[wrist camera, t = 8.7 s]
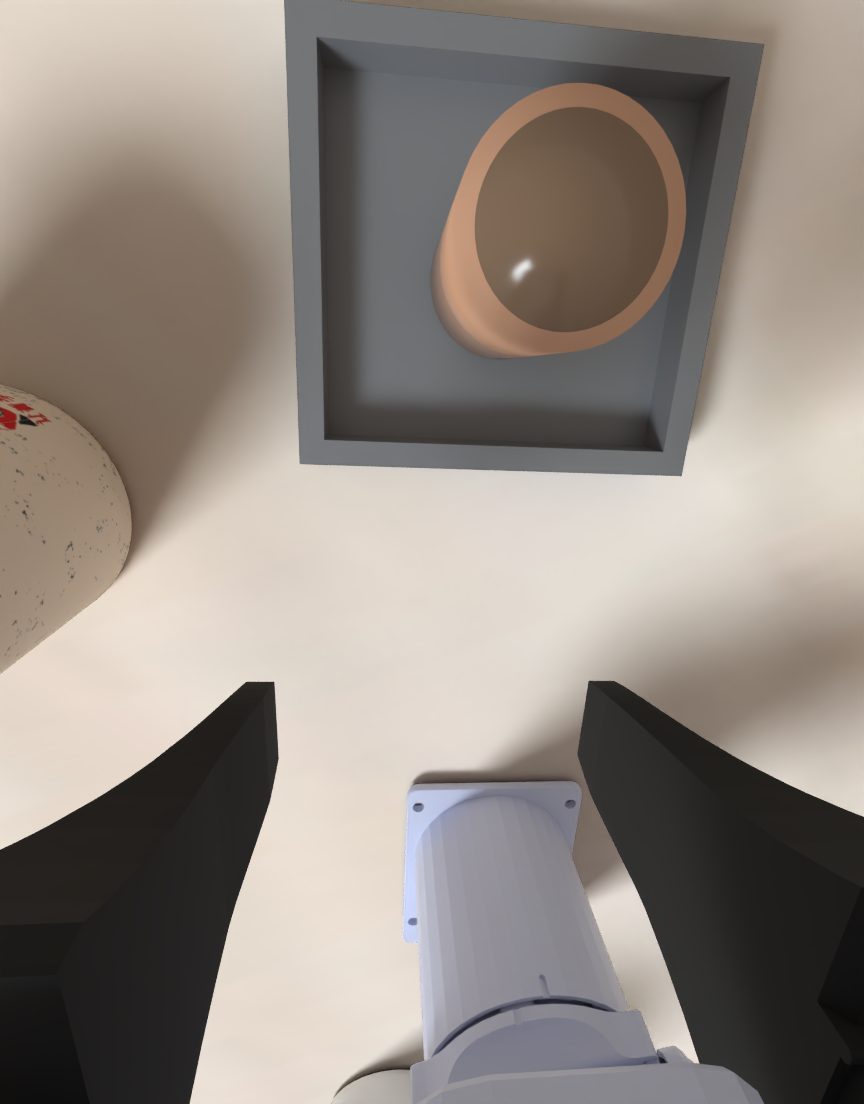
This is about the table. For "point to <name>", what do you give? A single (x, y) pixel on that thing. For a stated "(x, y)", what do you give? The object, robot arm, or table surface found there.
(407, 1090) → the pill bottle
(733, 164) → the charcoal tray
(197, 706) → the table surface
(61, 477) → the teacup with lid
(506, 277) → the terracotta cup
